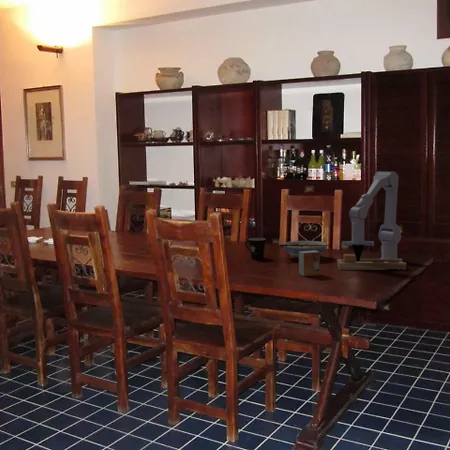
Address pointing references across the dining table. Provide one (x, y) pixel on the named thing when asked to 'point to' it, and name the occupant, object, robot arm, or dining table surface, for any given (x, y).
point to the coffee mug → (256, 247)
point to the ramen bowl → (303, 247)
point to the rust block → (349, 258)
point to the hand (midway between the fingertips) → (358, 261)
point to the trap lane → (372, 264)
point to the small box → (309, 263)
